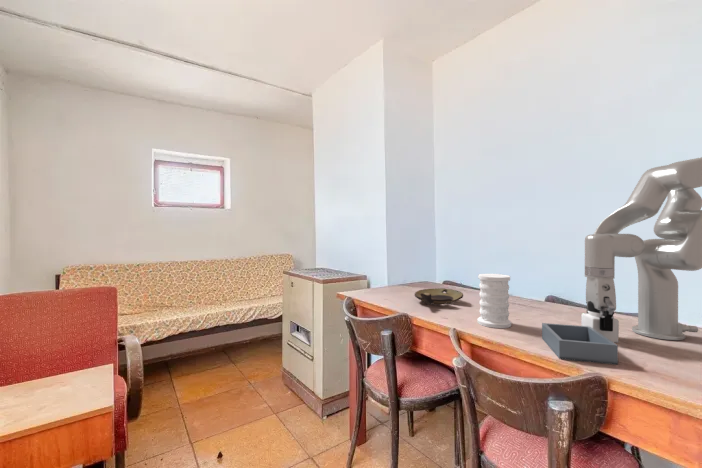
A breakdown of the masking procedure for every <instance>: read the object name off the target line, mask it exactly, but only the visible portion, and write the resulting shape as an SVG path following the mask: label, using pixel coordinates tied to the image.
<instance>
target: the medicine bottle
mask: <svg viewBox="0 0 702 468" xmlns="http://www.w3.org/2000/svg"><path fill="white" fill-rule="evenodd" d="M602 308H606V307H602ZM603 312H604V313H605V311H603ZM600 317H601V314H600V311H599V310H597V309H596V308H595V307H594V304H593V303H592V302H591V301H588V313H587V312H585V313H584V312H583V313H581V326H590V327H591V328H593V329H594V330H596V331H597V332H599V333H600V334H602V335H603V336H605V337H606V338H608V339H609V340H610V341H612V342H613V343H615V344H616V343H617V344H618V343H619V339H620V338H619V337H620V336H619V329H620V328H619V326H620V325H619V320H618V319H617V318H615V317H614V318H613V331H601V330H600Z"/></svg>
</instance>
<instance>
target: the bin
mask: <svg viewBox="0 0 702 468" xmlns="http://www.w3.org/2000/svg"><path fill="white" fill-rule="evenodd" d="M541 339H542V341H544V343H545V344H546V345H547V346H548V348H550V350H551V351H552V352H553V353H554V354H555V356H556V357H557V358H558V359H559V360H567V361H576V362H586V363H595V364H596V363H598V364H607V365H615V366H618V365H619V364H618V363H619V361H618V359H619V358H618V357H619V356H618V355H619V353H618V351H619V350H618V349H619V345H617V344H616V342H612V341H610V340H609V339H608V338H606V337H605V336H603V335H602V334H600V333H599V332H597V331H596V330H594V329H593V328H591V327H590V326H582V325H577V324H576V325H575V324H562V323H546V322H541Z"/></svg>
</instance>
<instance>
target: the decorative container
mask: <svg viewBox="0 0 702 468" xmlns="http://www.w3.org/2000/svg"><path fill="white" fill-rule="evenodd" d="M477 279H479V280H480V281H479V284H478V287H479V288H480V291H479V297H480V299H479V307H480V308H479V314H480V316H479V317H477V321H476V322H477V324H478V325H481V326H483V327H487V328H492V329H508V328H510V327H512V321H511V320H510V319H509V316H510V311H509V307H510V302H509V299H510V294H509V290H510V285H509V281H511V276H510V275H508V274H501V273H479V274H478V276H477Z"/></svg>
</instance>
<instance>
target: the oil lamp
mask: <svg viewBox="0 0 702 468" xmlns="http://www.w3.org/2000/svg"><path fill="white" fill-rule="evenodd" d="M414 297H415V298H416V299H418V300H420V301H421V302H424V303H426V304H427V305H429V306H430V305H434V306H435V305H437V306H438V305H439V306H440V305H441V306H442V305H447V304H451V303H453V302H456V301H460V300H461V299H463V298H464V292H462V291H461V290H460V291H459V290H456V289H452V288H443V287H441V288H439V287H437V288H436V287H435V288H423V289H420V290H417V291H415V293H414Z"/></svg>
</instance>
